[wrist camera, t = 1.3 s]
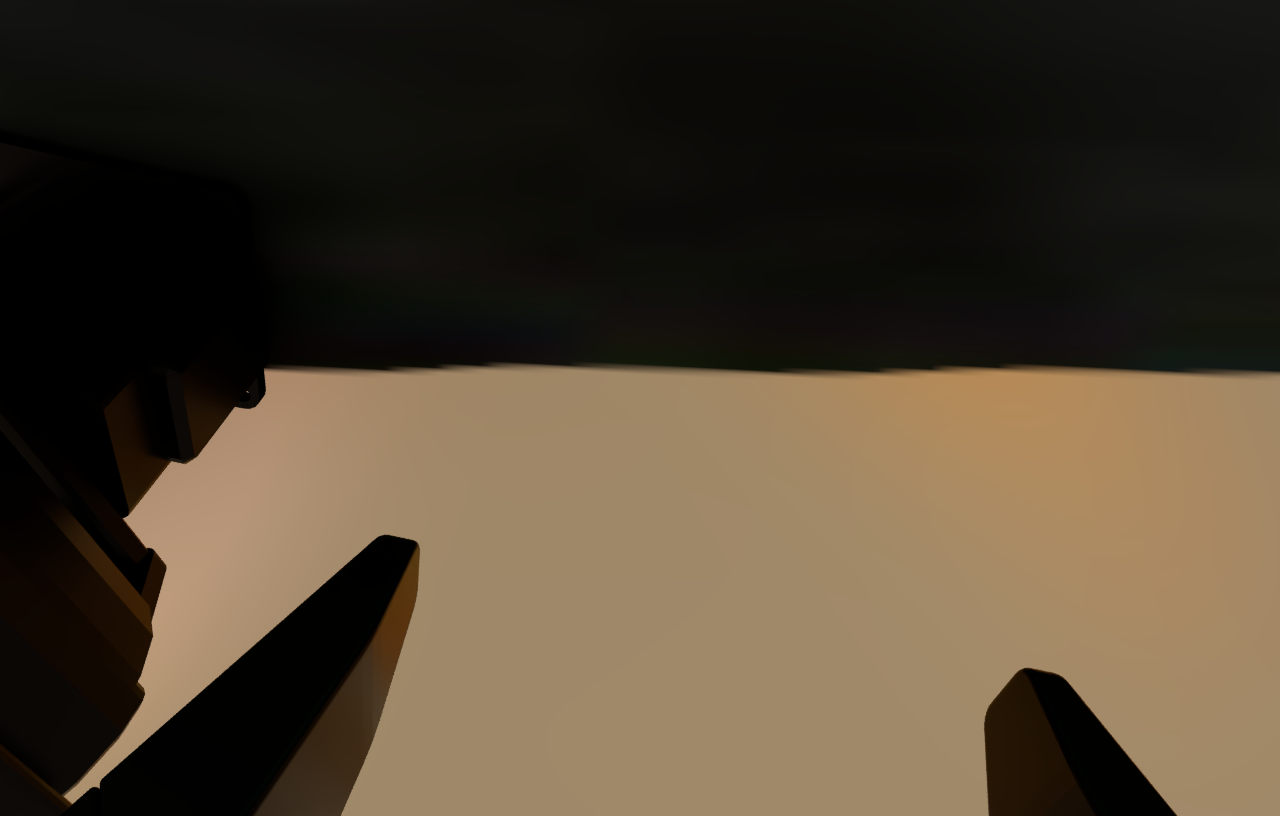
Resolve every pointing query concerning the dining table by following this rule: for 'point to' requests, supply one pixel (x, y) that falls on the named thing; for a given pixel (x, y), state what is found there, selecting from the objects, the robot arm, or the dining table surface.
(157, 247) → the robot arm
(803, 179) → the dining table surface
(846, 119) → the dining table surface
